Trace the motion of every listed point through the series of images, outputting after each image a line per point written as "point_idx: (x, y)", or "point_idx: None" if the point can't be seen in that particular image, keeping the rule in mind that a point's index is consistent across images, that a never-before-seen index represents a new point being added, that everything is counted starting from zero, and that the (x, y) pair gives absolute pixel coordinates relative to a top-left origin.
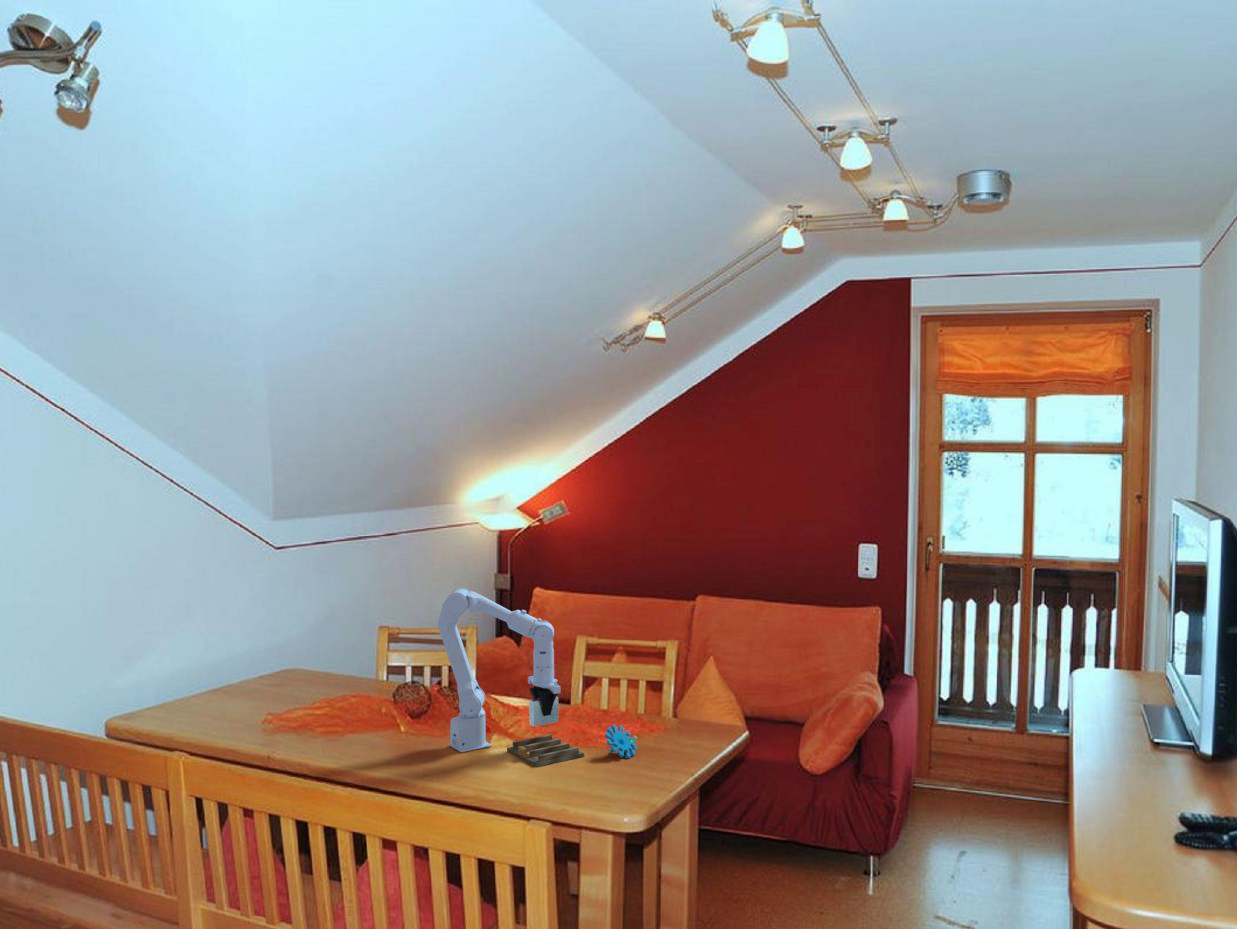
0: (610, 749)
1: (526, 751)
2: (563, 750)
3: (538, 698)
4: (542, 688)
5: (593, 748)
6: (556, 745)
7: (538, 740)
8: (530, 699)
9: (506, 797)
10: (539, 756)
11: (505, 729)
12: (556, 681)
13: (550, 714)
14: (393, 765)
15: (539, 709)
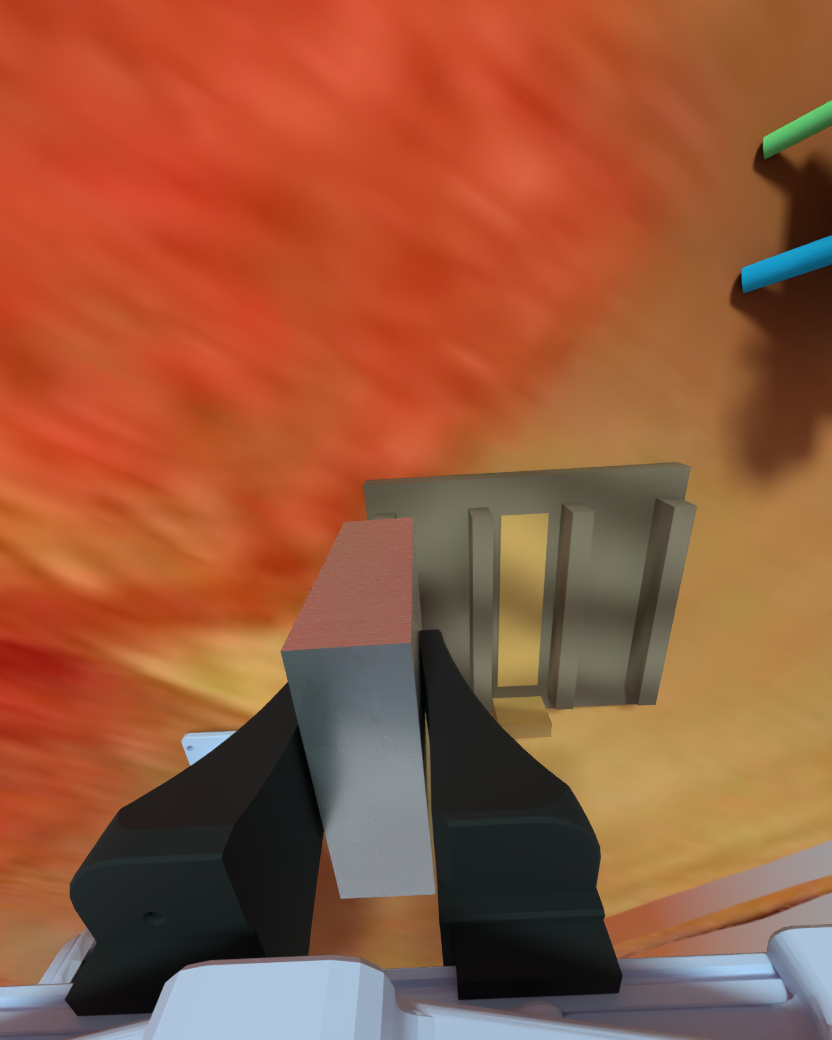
0: (750, 282)
1: (548, 716)
2: (668, 589)
3: (342, 829)
4: (264, 928)
5: (601, 341)
6: (575, 583)
7: None
8: (339, 889)
9: (797, 846)
10: (649, 703)
11: (54, 592)
12: (396, 1035)
13: (440, 633)
14: (340, 954)
15: (427, 755)
